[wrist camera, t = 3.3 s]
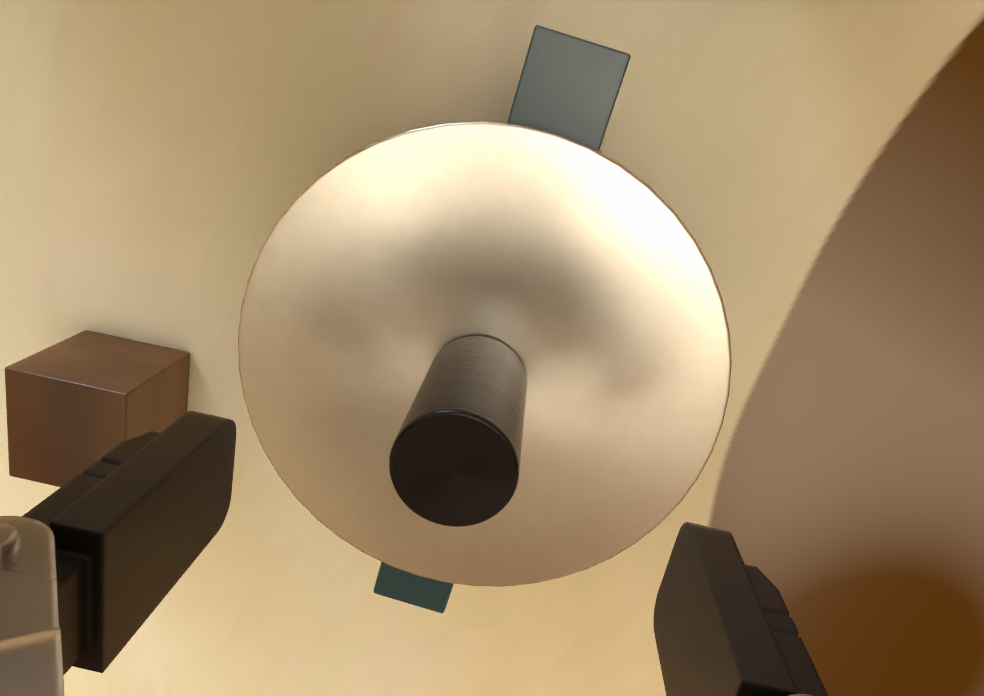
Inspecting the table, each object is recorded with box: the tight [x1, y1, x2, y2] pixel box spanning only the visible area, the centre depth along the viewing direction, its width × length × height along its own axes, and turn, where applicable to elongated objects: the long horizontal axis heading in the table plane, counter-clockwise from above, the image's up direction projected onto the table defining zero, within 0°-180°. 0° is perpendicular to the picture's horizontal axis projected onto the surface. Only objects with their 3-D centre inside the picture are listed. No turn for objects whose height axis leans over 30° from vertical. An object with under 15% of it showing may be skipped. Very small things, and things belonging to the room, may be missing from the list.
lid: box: [238, 121, 731, 586], centre depth 16 cm, size 13×13×6 cm
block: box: [5, 331, 189, 487], centre depth 27 cm, size 4×4×4 cm
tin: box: [374, 25, 630, 613], centre depth 23 cm, size 12×17×8 cm
